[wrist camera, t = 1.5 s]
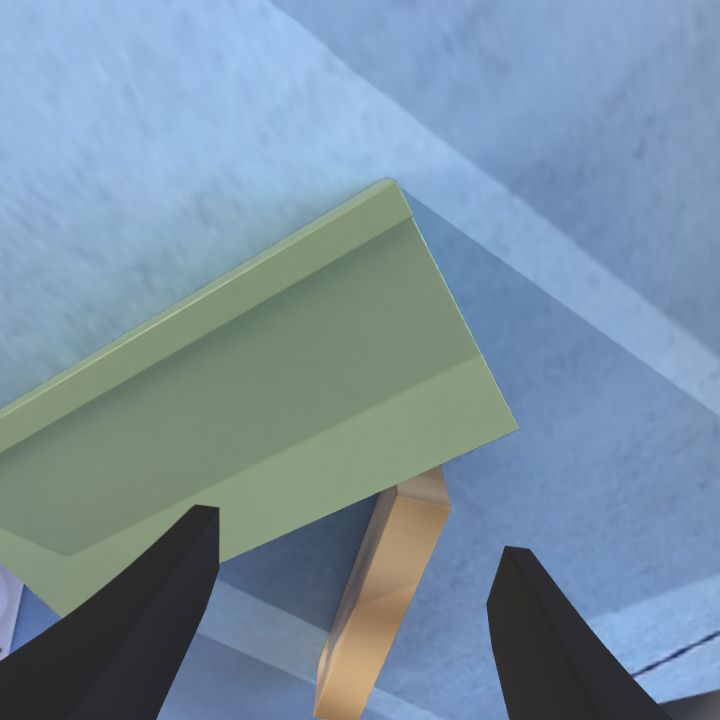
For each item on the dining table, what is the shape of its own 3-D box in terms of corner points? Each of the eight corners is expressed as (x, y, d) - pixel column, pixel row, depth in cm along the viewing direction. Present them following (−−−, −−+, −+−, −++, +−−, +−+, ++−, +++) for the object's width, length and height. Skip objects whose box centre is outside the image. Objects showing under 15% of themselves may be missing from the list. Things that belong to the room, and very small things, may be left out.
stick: (357, 670, 28) (356, 726, 25) (318, 662, 27) (313, 717, 25) (441, 466, 22) (452, 508, 19) (393, 454, 22) (396, 495, 19)
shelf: (130, 542, 24) (50, 665, 18) (2, 407, 21) (-142, 500, 15) (485, 370, 20) (534, 454, 14) (386, 176, 17) (396, 179, 11)
